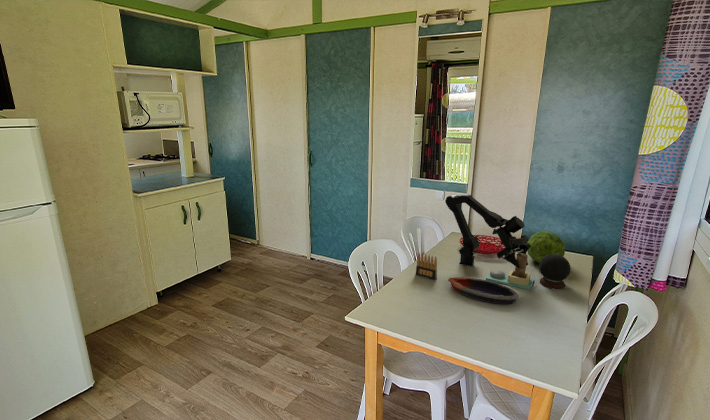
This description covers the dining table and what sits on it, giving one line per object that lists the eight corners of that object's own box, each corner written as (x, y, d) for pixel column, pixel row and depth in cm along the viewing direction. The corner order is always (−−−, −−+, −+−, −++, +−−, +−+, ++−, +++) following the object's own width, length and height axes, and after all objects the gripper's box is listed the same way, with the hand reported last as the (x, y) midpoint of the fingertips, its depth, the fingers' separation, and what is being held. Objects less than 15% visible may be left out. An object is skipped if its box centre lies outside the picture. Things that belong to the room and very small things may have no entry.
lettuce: (566, 260, 210) (564, 228, 210) (566, 268, 189) (564, 232, 189) (529, 260, 219) (527, 229, 219) (526, 267, 199) (523, 233, 198)
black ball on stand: (536, 286, 177) (540, 256, 173) (537, 276, 188) (541, 248, 184) (568, 292, 171) (573, 262, 167) (567, 281, 182) (572, 252, 179)
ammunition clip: (436, 278, 184) (438, 256, 181) (435, 280, 183) (436, 257, 180) (417, 273, 190) (418, 251, 187) (415, 274, 189) (416, 252, 186)
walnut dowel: (512, 280, 180) (516, 255, 177) (514, 277, 184) (518, 252, 181) (523, 282, 178) (526, 257, 175) (524, 279, 182) (528, 254, 179)
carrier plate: (485, 279, 184) (486, 272, 183) (491, 271, 193) (492, 264, 192) (529, 290, 173) (531, 282, 172) (533, 280, 183) (534, 273, 182)
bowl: (504, 264, 203) (505, 255, 202) (452, 253, 219) (452, 245, 217) (515, 248, 227) (516, 240, 226) (467, 239, 243) (467, 232, 241)
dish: (512, 312, 154) (514, 301, 153) (442, 291, 171) (443, 281, 170) (521, 297, 167) (522, 287, 165) (454, 280, 184) (455, 270, 182)
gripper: (504, 232, 174) (522, 263, 167) (530, 227, 183) (548, 255, 176) (489, 243, 182) (505, 272, 176) (514, 237, 191) (531, 265, 185)
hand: (523, 266), depth 178 cm, fingers open, 6 cm apart
